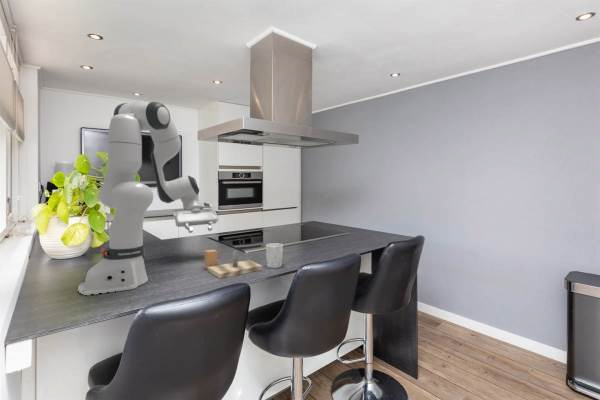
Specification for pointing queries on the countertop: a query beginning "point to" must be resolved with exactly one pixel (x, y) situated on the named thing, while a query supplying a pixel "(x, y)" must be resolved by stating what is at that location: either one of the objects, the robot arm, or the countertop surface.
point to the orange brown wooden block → (210, 258)
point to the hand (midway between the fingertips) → (201, 230)
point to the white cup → (274, 255)
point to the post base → (234, 268)
